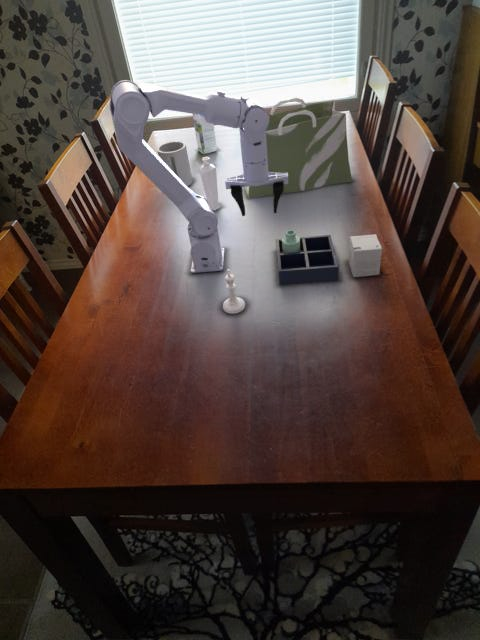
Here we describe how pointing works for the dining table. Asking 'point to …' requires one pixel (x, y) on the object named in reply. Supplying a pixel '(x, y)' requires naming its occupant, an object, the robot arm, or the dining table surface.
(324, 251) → the divided tray
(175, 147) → the cup
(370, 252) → the white cardboard box
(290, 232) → the bottle
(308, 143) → the grocery bag
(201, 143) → the syrup box
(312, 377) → the dining table surface
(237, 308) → the chess piece
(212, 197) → the perfume bottle
